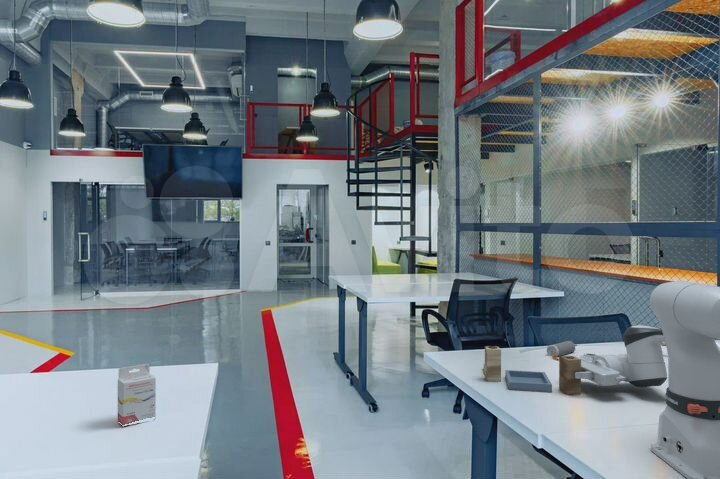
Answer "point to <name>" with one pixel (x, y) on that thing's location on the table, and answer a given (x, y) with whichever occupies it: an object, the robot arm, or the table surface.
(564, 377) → the walnut block
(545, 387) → the tray
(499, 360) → the oak block
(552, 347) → the motor
